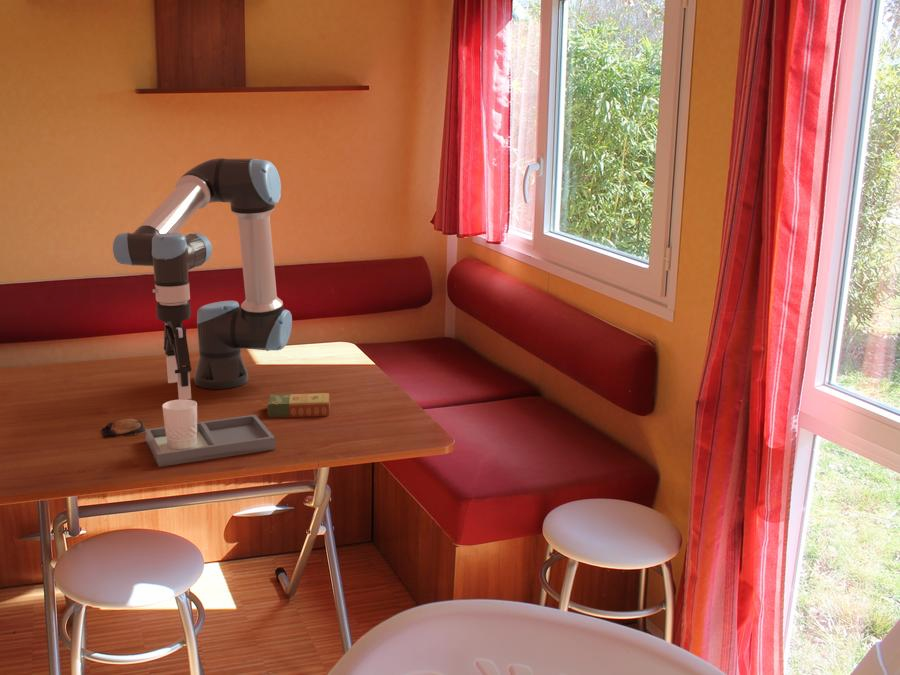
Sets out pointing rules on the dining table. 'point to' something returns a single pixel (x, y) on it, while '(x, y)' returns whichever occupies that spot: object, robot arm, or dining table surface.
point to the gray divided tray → (213, 441)
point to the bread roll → (123, 428)
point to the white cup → (180, 423)
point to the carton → (299, 405)
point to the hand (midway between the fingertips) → (179, 390)
